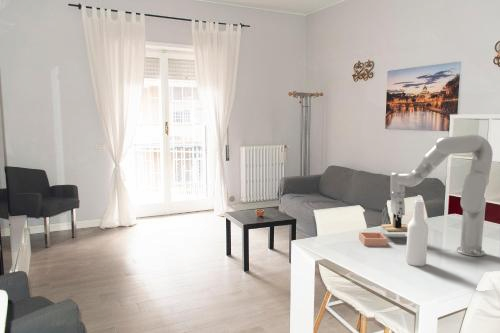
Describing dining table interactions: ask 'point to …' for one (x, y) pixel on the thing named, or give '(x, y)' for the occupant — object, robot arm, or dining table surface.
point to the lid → (392, 227)
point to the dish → (372, 239)
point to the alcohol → (417, 237)
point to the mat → (396, 237)
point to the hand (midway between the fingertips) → (397, 226)
